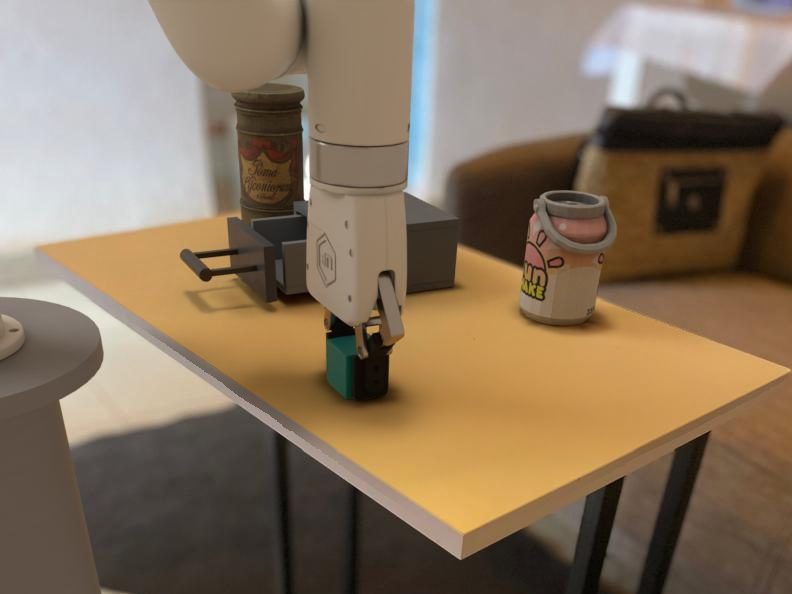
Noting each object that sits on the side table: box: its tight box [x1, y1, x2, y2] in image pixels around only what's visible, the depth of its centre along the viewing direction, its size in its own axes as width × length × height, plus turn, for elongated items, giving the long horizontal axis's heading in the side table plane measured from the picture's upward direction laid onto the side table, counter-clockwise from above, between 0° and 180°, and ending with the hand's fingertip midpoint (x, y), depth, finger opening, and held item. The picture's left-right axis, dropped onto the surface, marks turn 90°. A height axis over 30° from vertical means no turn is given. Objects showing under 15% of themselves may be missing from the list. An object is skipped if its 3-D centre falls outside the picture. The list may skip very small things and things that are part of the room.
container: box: [230, 82, 306, 227], centre depth 101 cm, size 9×9×18 cm
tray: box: [179, 214, 310, 304], centre depth 91 cm, size 20×11×6 cm, turn 118°
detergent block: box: [326, 332, 372, 400], centre depth 73 cm, size 4×4×4 cm
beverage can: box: [518, 189, 618, 327], centre depth 87 cm, size 9×8×12 cm
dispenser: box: [293, 191, 461, 294], centre depth 96 cm, size 15×13×8 cm
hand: (356, 382), depth 74 cm, fingers open, 4 cm apart
